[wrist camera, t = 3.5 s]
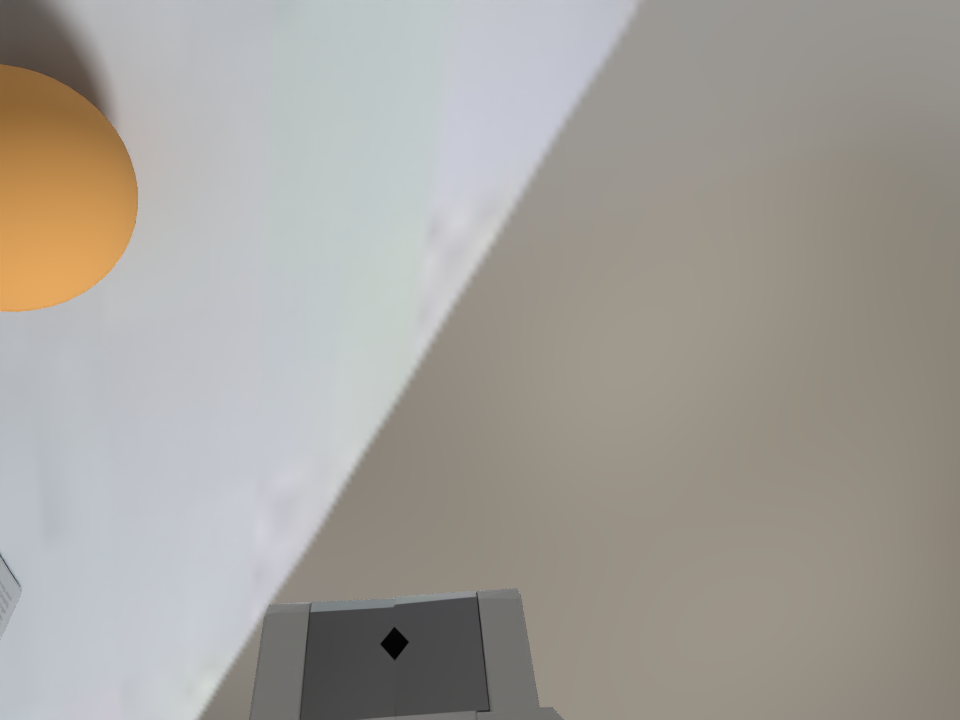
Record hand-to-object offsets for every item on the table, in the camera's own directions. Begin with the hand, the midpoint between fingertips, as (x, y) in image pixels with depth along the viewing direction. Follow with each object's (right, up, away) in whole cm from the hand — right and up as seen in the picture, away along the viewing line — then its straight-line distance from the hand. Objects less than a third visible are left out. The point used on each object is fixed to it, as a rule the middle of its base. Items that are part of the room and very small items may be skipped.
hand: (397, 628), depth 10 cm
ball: (-11, +7, +11) cm, 17 cm away
